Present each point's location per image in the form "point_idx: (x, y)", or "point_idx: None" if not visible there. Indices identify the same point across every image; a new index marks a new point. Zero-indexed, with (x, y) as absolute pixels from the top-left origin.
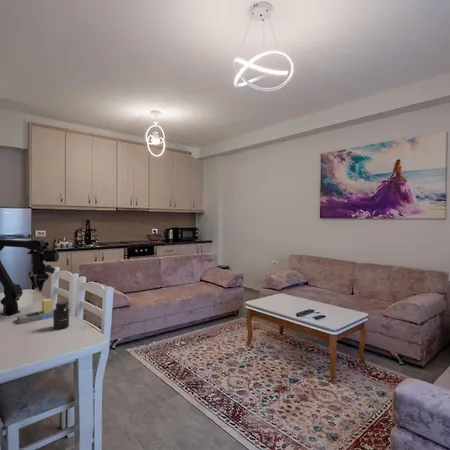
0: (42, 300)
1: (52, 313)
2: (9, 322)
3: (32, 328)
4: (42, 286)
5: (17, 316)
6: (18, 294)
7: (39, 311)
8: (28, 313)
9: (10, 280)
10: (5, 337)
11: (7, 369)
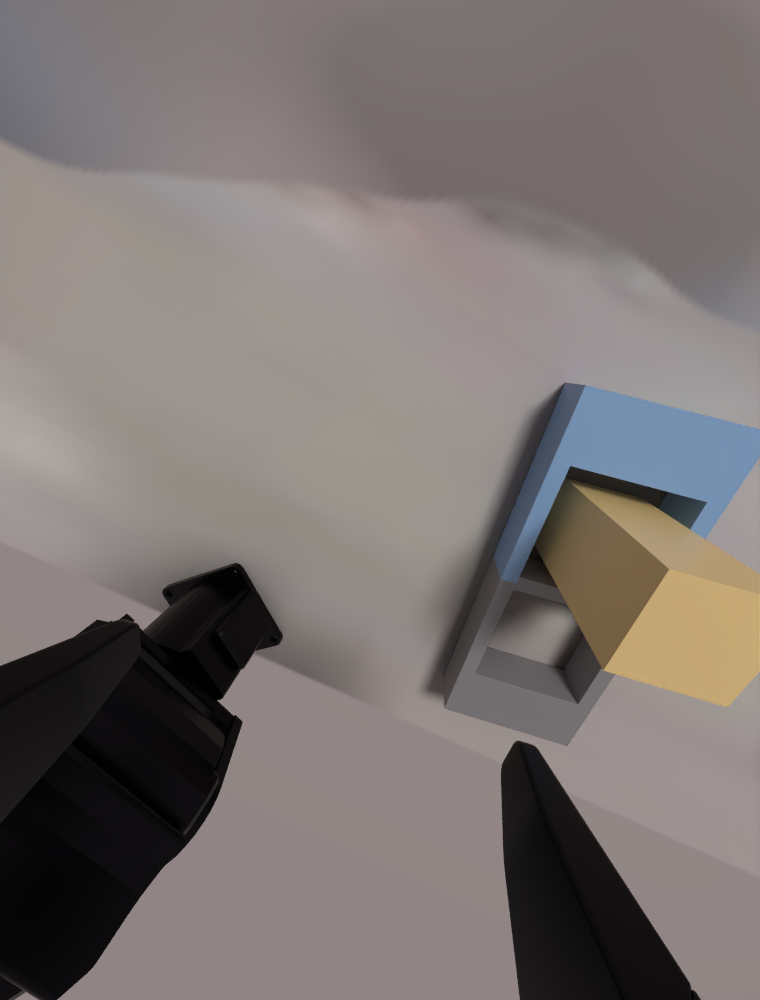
0: (642, 681)
1: (700, 533)
2: (443, 714)
3: (746, 730)
4: (644, 925)
5: (460, 709)
6: (171, 755)
7: (508, 570)
8: (474, 646)
9: None
10: (710, 851)
11: None
